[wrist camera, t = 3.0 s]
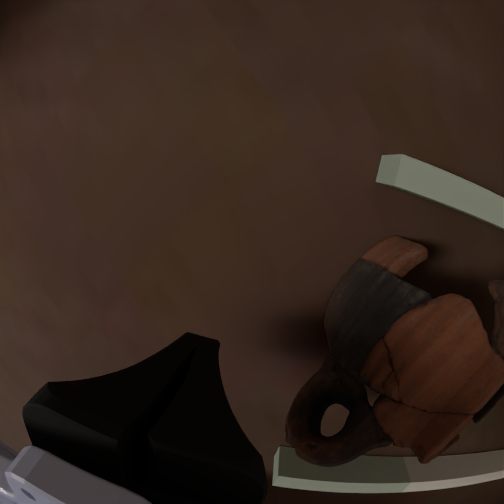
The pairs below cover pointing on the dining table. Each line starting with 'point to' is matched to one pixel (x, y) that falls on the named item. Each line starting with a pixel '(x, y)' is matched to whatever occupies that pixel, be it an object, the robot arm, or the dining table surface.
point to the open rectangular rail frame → (407, 468)
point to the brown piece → (398, 363)
